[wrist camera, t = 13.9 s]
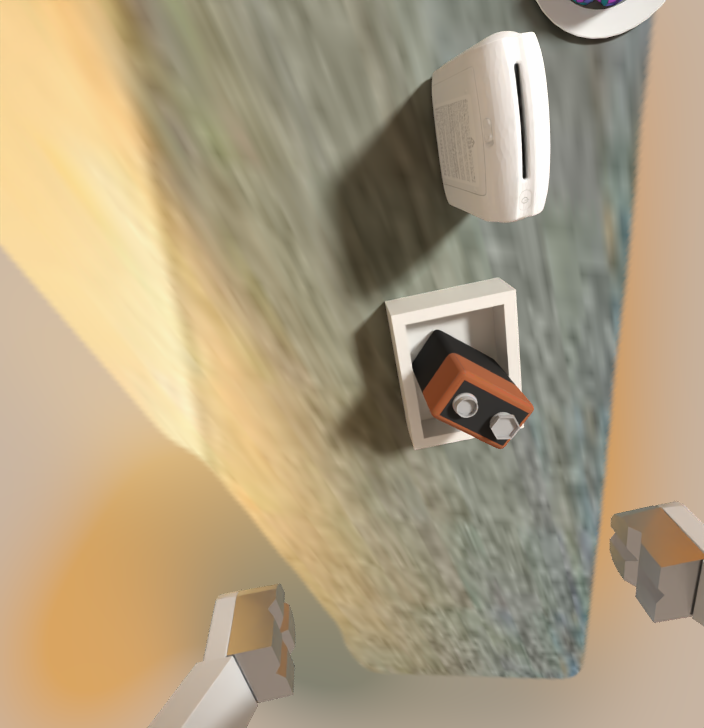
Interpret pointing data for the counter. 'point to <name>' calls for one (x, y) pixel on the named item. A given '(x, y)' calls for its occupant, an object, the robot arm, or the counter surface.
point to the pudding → (598, 16)
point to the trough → (462, 321)
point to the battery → (469, 390)
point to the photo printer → (494, 128)
